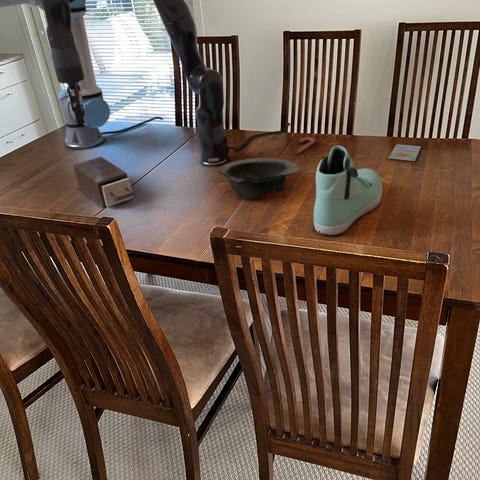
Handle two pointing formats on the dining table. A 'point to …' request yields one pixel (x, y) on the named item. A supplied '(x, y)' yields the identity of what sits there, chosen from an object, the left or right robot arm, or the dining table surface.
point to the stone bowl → (257, 176)
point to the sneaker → (343, 192)
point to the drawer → (117, 191)
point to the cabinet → (96, 177)
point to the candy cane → (306, 144)
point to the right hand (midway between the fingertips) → (81, 119)
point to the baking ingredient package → (405, 152)
